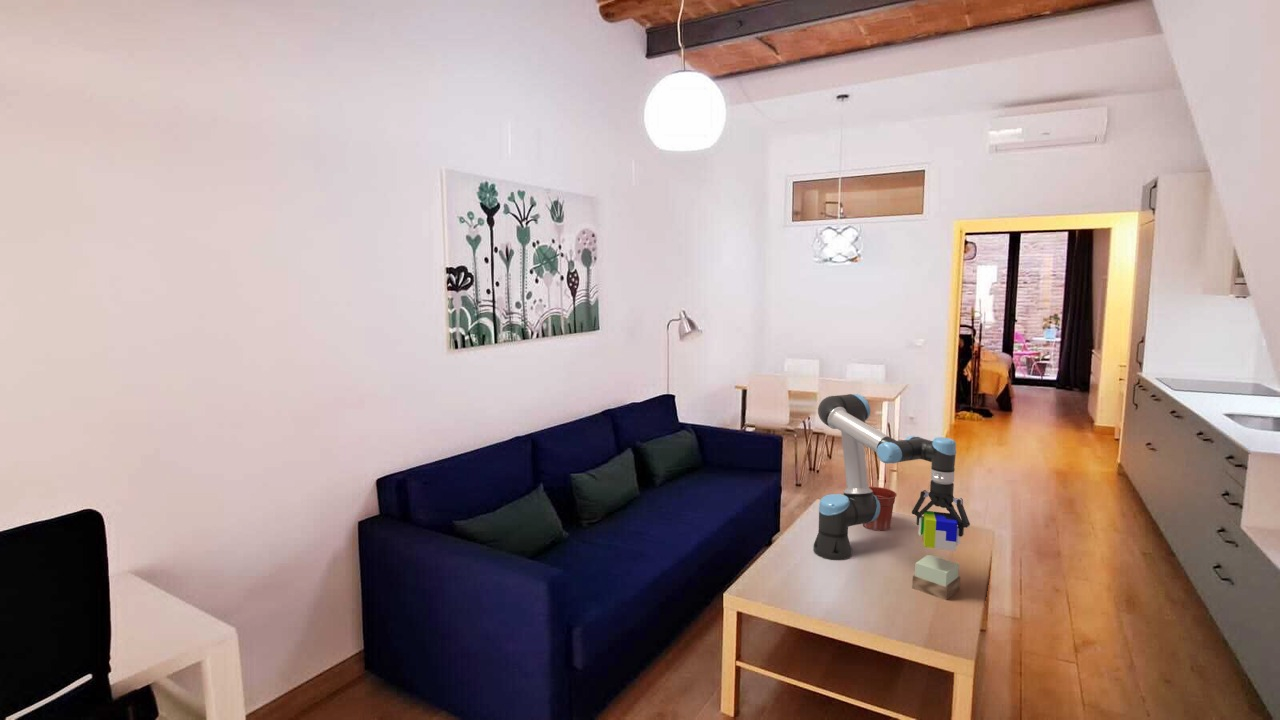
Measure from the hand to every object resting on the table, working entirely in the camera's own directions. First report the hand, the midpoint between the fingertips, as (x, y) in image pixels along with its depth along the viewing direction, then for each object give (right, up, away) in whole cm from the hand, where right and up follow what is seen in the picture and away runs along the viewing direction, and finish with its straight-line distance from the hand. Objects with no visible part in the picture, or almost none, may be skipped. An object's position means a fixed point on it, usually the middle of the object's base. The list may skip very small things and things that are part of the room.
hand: (938, 539), depth 228 cm
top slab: (0, -14, +1) cm, 14 cm away
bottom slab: (0, -19, +2) cm, 19 cm away
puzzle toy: (-1, -1, -2) cm, 2 cm away
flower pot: (0, -12, +62) cm, 63 cm away
